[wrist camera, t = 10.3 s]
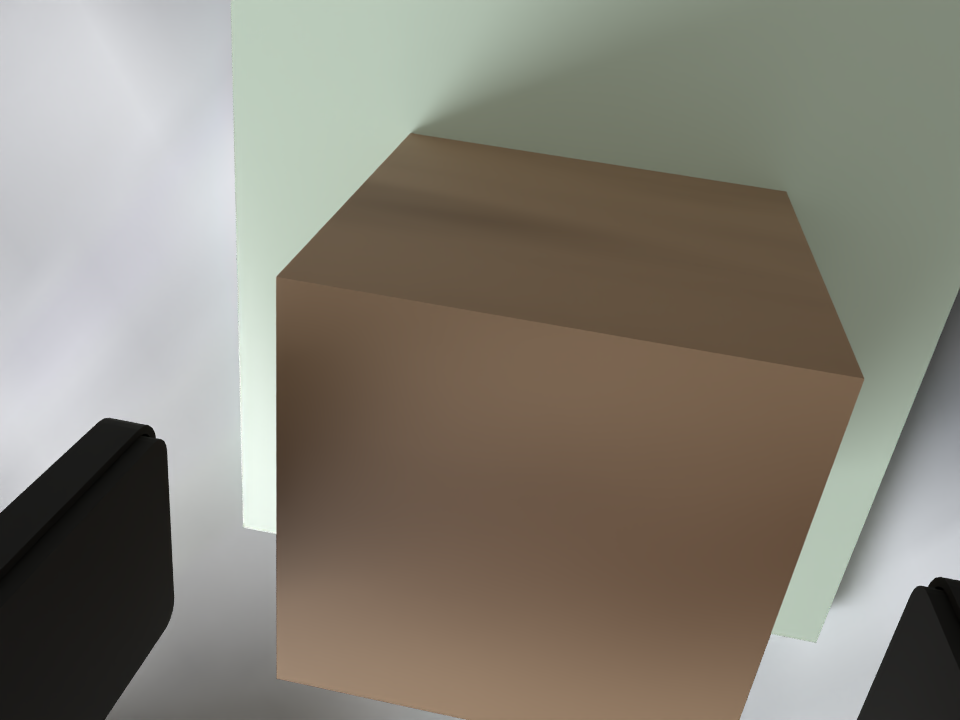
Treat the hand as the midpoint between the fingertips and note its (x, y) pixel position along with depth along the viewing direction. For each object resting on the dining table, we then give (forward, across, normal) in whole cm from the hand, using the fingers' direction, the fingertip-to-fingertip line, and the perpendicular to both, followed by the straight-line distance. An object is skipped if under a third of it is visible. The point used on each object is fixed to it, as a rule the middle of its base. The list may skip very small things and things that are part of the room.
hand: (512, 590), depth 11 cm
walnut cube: (+6, 0, -1) cm, 6 cm away
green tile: (+6, 0, -1) cm, 7 cm away
